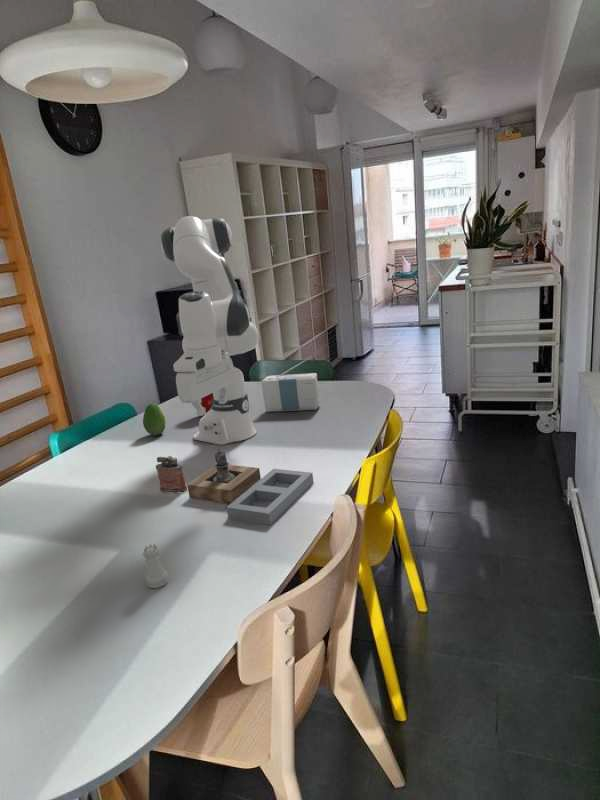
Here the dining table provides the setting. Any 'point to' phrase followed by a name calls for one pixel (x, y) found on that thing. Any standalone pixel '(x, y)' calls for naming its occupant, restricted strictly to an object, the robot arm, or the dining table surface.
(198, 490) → the socket block
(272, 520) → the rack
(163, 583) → the rook chess piece
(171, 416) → the dining table surface
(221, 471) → the grey chess piece
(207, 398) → the plastic cup
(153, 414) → the avocado
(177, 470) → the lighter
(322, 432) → the dining table surface
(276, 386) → the teal banded white box
